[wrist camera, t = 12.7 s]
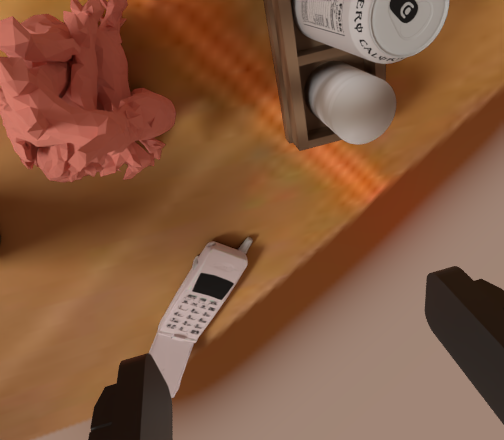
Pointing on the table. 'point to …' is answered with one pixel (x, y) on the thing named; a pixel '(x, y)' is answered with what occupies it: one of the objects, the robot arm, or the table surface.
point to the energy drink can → (372, 25)
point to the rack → (325, 87)
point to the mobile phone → (196, 307)
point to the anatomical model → (77, 95)
